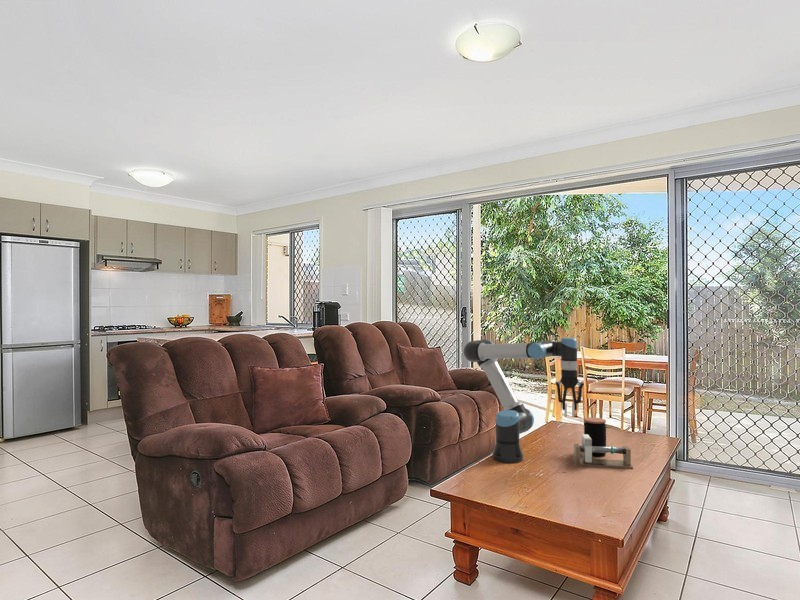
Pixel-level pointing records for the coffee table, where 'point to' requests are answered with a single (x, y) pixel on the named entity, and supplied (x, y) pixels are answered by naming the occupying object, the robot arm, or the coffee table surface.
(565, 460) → the coffee table surface
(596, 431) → the coffee jar
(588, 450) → the collar
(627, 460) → the rail
